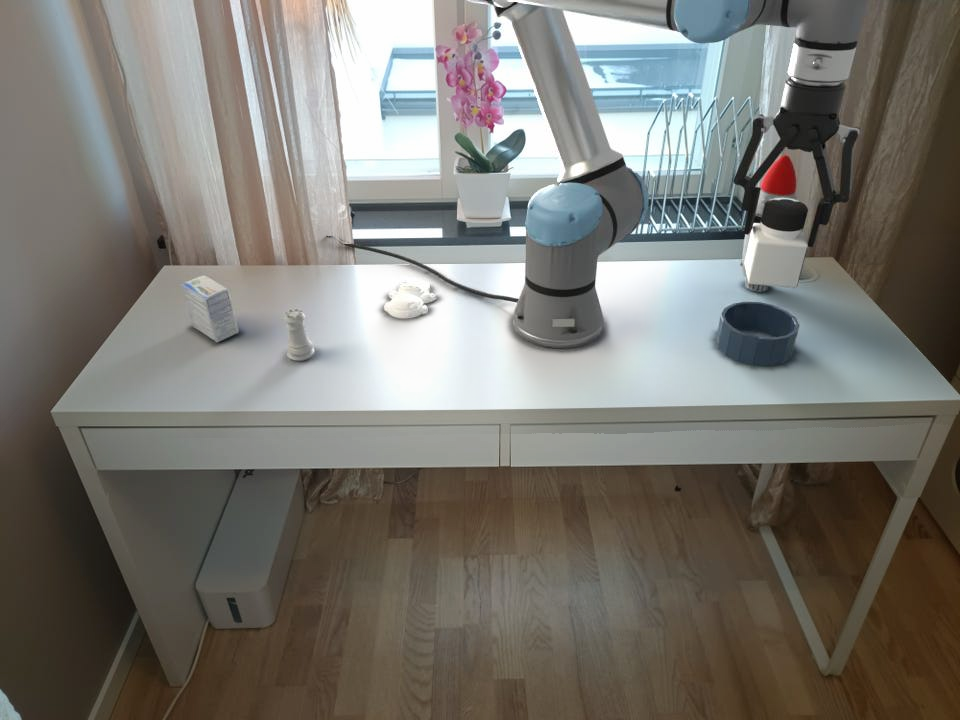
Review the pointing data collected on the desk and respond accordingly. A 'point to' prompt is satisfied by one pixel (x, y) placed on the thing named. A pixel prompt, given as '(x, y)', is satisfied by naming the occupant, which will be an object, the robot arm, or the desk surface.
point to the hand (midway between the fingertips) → (779, 237)
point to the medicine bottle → (777, 244)
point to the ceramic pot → (755, 347)
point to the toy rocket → (773, 186)
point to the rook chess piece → (298, 337)
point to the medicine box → (210, 308)
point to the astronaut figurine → (409, 300)
